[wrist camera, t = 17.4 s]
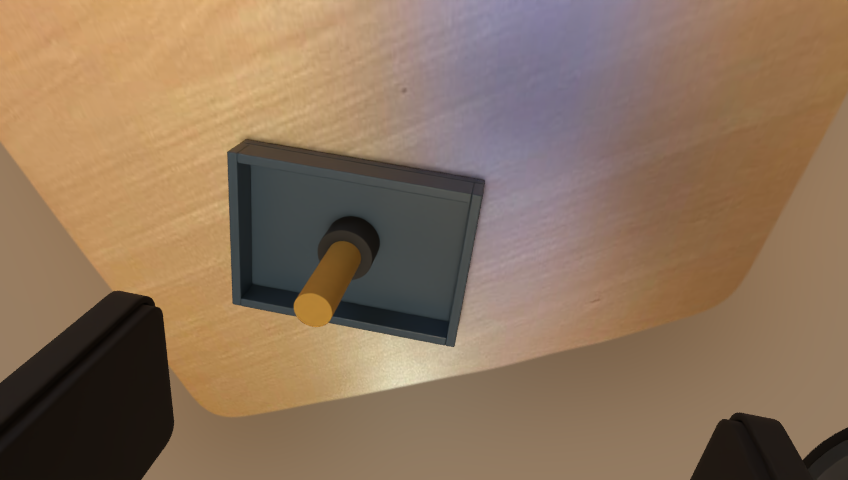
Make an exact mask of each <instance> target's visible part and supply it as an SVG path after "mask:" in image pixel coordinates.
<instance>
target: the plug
mask: <svg viewBox="0 0 848 480" xmlns="http://www.w3.org/2000/svg"><path fill="white" fill-rule="evenodd" d="M379 247H380V240H379V236H378V234H377V232H376V230H375V229H374V227H373V226H372V225H371V224H370V223H369V222H367V221H366V220H364V219H361V218H359V217H354V216H347V217H342V218H340V219H338V220H336V221H335V222H334V223H333V224H332V225H331V226H330V228H329V229H328V231H327V232H326V233H325V235H324V236H323V238H322V239H321V241H320V243H319V245H318V250H317V251H318V258H319V261H320V263H319V265H318V266H317V268H316V269H315V271H314V272H313V274H312V275H311V277H310V278H309V280H308V282H307V283H306V285H305V286H304V288H303V289H302V291H301V292H300V294H299V295H298V297H297V298H296V300H295V302H294V312H295V314H296V316H297V317H298V319H299V320H300V321H301V322H303V323H304V324H306V325H309V326H312V327H320V326H324V325H326V324H327V323H328V322H329V321H330V320H331V318H332V316H333V314H334V312H335V310H336V309H337V307H338V305H339V303H340V301H341V299H342V297H343V295H344V293H345V291H346V289H347V287H348V285H349V284H350V282H351V280H355V279H358V278H361V277H362V276H364V275H365V274H366V273H367V272H368V271H369V269H370V268H371V266H372V263H373V261H374V259H375V257H376V255H377V253H378V251H379Z"/></svg>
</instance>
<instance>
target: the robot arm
mask: <svg viewBox="0 0 848 480" xmlns="http://www.w3.org/2000/svg"><path fill="white" fill-rule="evenodd" d="M173 426H174V417H173V407H172V398H171V388H170V379H169V369H168V359H167V350H166V340H165V330H164V321H163V313H162V310H161V309H160V308H158V307H155V303H154V301H153V299H152V298H150V297H148V296H143V295H138V294H133V293H128V292H123V291H113V292H112V293H110V294H109V295H107V296H106V297H105V298H104V299H102V300H101V301H100V302H99V303H97V304H96V305H95V306H94V307H93V308H91V309H90V310H89V311H88V312H86V313H85V314H84V315H83V316H82V317H80V318H79V319H78V320H77V321H76V322H74V323H73V324H72V325H71V326H70V327H68V328H67V329H66V330H65V331H64V332H62V333H61V334H60V335H58V337H56V338H55V339H54V340H52V341H51V342H50V343H49V344H47V345H46V346H45V347H44V348H42V349H41V350H40V351H39V352H38V353H36V354H35V355H34V356H33V357H31V358H30V359H29V360H28V361H27V362H25V363H24V364H23V365H22V366H20V367H19V368H18V369H17V370H16V371H14V372H13V373H12V374H11V375H9V376H8V377H7V378H6V379H5V380H3V381H2V382H1V383H0V480H141V479H142V478H143V476H144V475H145V474H146V472H147V471H148V470H149V468H150V467H151V465H152V464H153V462H154V461H155V460H156V458H157V457H158V456H159V454H160V453H161V451H162V450H163V449H164V447H165V446H166V444H167V443H168V441H169V439H170V437H171V434H172V431H173ZM690 480H813V478H812V476H811V475H810V473H809V471H808V469H807V468H806V466H805V464H804V462H803V461H802V459H801V457H800V455H799V454H798V452H797V450H796V448H795V446H794V445H793V443H792V441H791V439H790V438H789V436H788V434H787V432H786V431H785V429H784V427H783V426H782V425H781V423H780V422H779V421H777V420H775V419H770V418H765V417H760V416H755V415H749V414H744V413H735V414H733V415H732V416H731V418H730V419H729V420H727V419H722V420H721V421H720V422H719V423H718V425H717V426H716V429H715V431H714V432H713V434H712V437H711V439H710V441H709V443H708V445H707V447H706V449H705V451H704V453H703V455H702V457H701V459H700V461H699V463H698V465H697V467H696V469H695V471H694V473H693V475H692V477H691V479H690Z"/></svg>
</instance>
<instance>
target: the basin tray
mask: <svg viewBox="0 0 848 480" xmlns="http://www.w3.org/2000/svg"><path fill="white" fill-rule="evenodd" d="M227 156H228V184H229V213H230V241H231V270H232V298H233V304H235V305H241V306H245V307H250V308H255V309H260V310H266V311H271V312H276V313H281V314H286V315H291V316H296V314H295V312H294V302H295V300H296V298H297V297H298V295H299V294H300V292H301V291H302V289H303V288H304V286H305V285H306V283H307V282H308V280H309V278H310V277H311V275H312V274H313V272H314V271H315V269H316V268H317V266H318V265H319V263H320V261H319V258H318V251H317V250H318V245H319V243H320V241H321V239H322V238H323V236H324V235H325V233H326V232H327V231H328V229H329V228H330V226H331V225H332V224H333V223H334V222H335V221H336V220H338V219H340V218H342V217H347V216H354V217H359V218H361V219H364V220H366V221H367V222H369V223H370V224H371V225H372V226H373V227H374V229H375V230H376V232H377V234H378V236H379V240H380V247H379V251H378V253H377V255H376V257H375V259H374V261H373V263H372V266H371V268H370V269H369V271H368V272H367V273H366V274H365V275H364V276H362V277H361V278H358V279H355V280H351V282H350V284H349V285H348V287H347V289H346V291H345V293H344V295H343V297H342V299H341V301H340V303H339V305H338V307H337V309H336V310H335V312H334V314H333V316H332V318H331V320H330V321H329V322H328V323H332V324H337V325H343V326H348V327H353V328H358V329H363V330H368V331H373V332H378V333H384V334H389V335H394V336H399V337H404V338H409V339H414V340H420V341H425V342H430V343H435V344H440V345H446V346H451V347H454V346H455V341H456V335H457V330H458V325H459V319H460V314H461V309H462V304H463V298H464V293H465V288H466V282H467V277H468V272H469V266H470V261H471V256H472V250H473V245H474V240H475V234H476V229H477V224H478V218H479V213H480V208H481V202H482V197H483V190H484V184H485V181H484V180H479V179H473V178H467V177H461V176H456V175H450V174H444V173H438V172H432V171H427V170H421V169H415V168H409V167H403V166H397V165H392V164H386V163H380V162H374V161H368V160H363V159H357V158H351V157H345V156H339V155H333V154H328V153H322V152H316V151H310V150H304V149H299V148H293V147H287V146H281V145H275V144H269V143H264V142H258V141H252V140H244V141H243V142H242V143H240V144H238V145H237V146H235V147H234V148H232V149H231V150H229V151H228V152H227ZM296 317H297V316H296Z"/></svg>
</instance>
